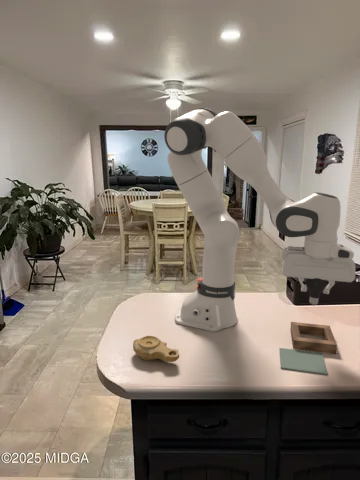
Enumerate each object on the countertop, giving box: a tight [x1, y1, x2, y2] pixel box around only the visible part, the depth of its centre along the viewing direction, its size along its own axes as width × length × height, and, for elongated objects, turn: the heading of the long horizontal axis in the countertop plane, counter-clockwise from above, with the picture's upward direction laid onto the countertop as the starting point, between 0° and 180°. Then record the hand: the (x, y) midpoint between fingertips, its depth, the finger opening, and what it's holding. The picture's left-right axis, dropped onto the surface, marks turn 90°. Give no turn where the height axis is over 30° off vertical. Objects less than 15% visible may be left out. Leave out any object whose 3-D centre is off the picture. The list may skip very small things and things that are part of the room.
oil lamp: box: [132, 335, 180, 363], centre depth 95 cm, size 11×14×5 cm
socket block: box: [289, 321, 338, 355], centre depth 103 cm, size 12×12×3 cm
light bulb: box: [305, 278, 327, 306], centre depth 99 cm, size 6×6×10 cm
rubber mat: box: [279, 347, 329, 376], centre depth 93 cm, size 12×10×1 cm
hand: (314, 292), depth 99 cm, fingers closed on light bulb, 5 cm apart
